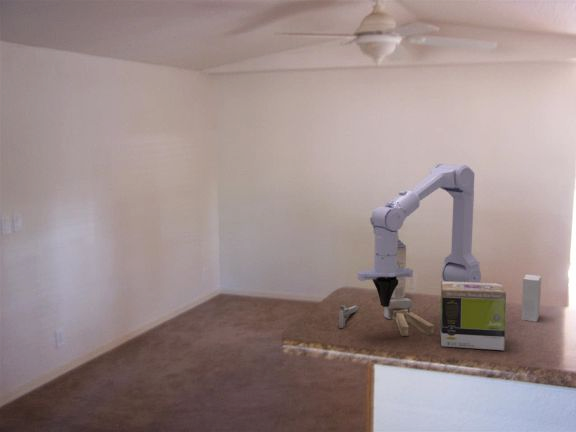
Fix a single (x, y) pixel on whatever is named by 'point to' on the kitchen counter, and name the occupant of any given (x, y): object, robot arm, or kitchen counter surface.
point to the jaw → (402, 323)
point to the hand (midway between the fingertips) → (384, 305)
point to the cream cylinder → (401, 263)
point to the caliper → (345, 314)
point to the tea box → (472, 315)
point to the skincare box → (531, 298)
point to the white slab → (398, 305)
